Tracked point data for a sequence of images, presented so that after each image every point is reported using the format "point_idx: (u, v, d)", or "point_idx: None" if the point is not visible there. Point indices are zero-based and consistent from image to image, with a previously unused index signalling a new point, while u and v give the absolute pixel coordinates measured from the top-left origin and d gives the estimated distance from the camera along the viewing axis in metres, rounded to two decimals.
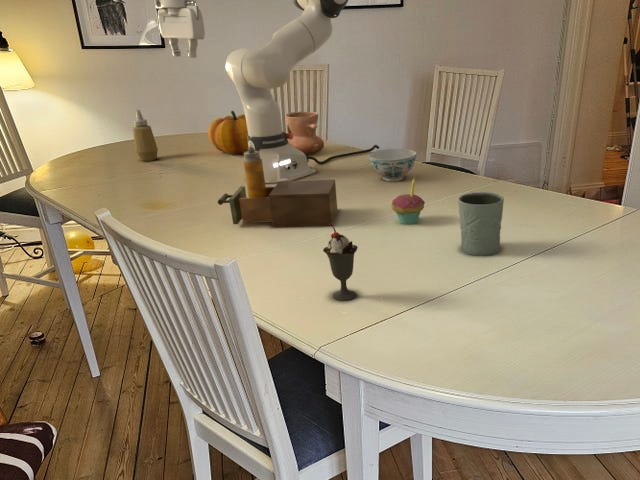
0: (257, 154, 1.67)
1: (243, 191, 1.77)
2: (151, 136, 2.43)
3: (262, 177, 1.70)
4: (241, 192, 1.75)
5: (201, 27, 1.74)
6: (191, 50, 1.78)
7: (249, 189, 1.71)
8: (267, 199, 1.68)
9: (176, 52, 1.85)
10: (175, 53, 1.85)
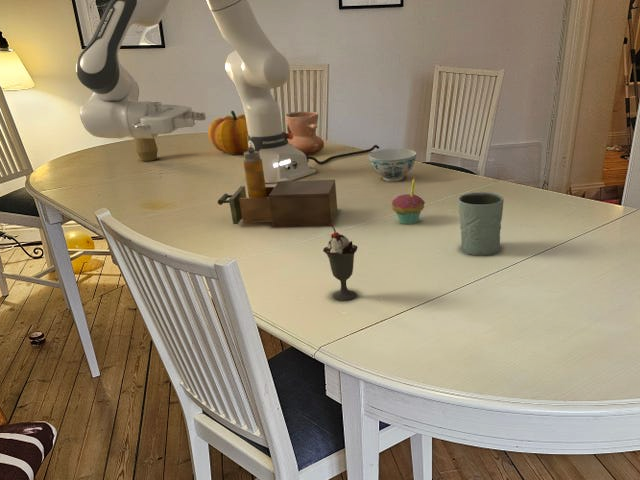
0: (257, 154, 1.67)
1: (243, 191, 1.77)
2: None
3: (262, 177, 1.70)
4: (241, 192, 1.75)
5: (155, 122, 1.56)
6: (185, 125, 1.60)
7: (249, 189, 1.71)
8: (267, 199, 1.68)
9: (200, 118, 1.68)
10: (201, 119, 1.69)
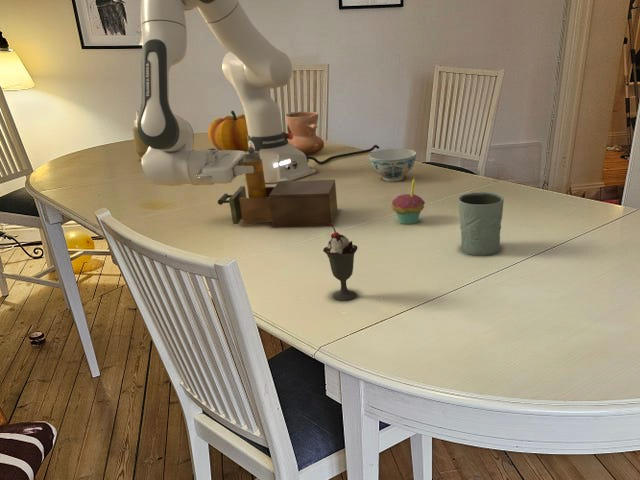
0: (257, 154, 1.67)
1: (243, 191, 1.77)
2: None
3: (262, 177, 1.70)
4: (241, 192, 1.75)
5: (217, 172, 1.61)
6: (246, 172, 1.67)
7: (249, 189, 1.71)
8: (267, 199, 1.68)
9: None
10: None
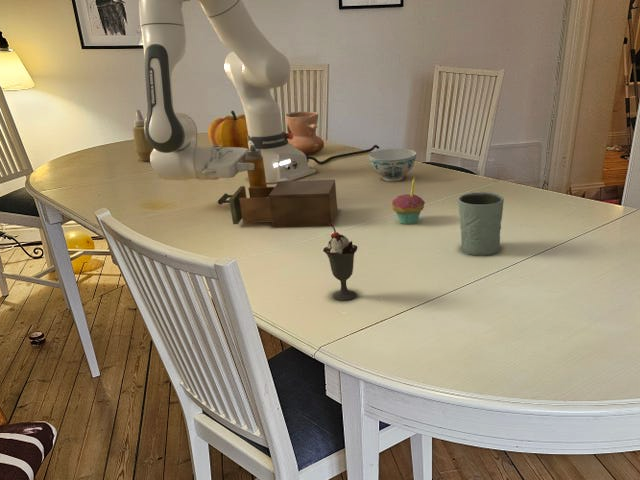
0: (258, 152, 1.79)
1: (243, 191, 1.77)
2: None
3: (263, 173, 1.82)
4: (241, 192, 1.75)
5: (221, 168, 1.72)
6: (247, 168, 1.77)
7: (251, 185, 1.82)
8: (267, 199, 1.68)
9: None
10: None
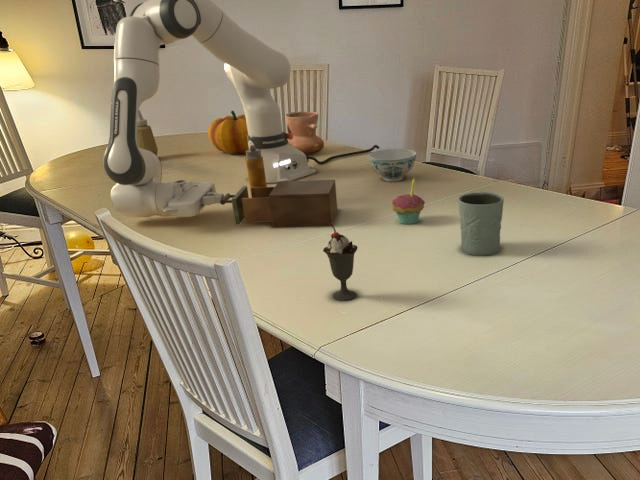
0: (258, 152, 1.79)
1: (245, 191, 1.77)
2: (151, 136, 2.43)
3: (263, 173, 1.82)
4: (243, 192, 1.75)
5: (182, 206, 1.66)
6: (214, 202, 1.74)
7: (251, 185, 1.82)
8: None
9: None
10: None
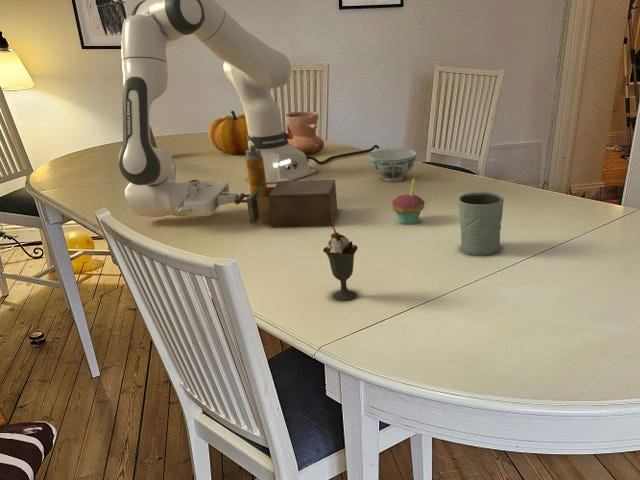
0: (258, 152, 1.79)
1: (260, 191, 1.77)
2: (151, 136, 2.43)
3: (263, 173, 1.82)
4: (258, 191, 1.75)
5: (197, 206, 1.66)
6: (229, 201, 1.73)
7: (251, 185, 1.82)
8: None
9: None
10: None
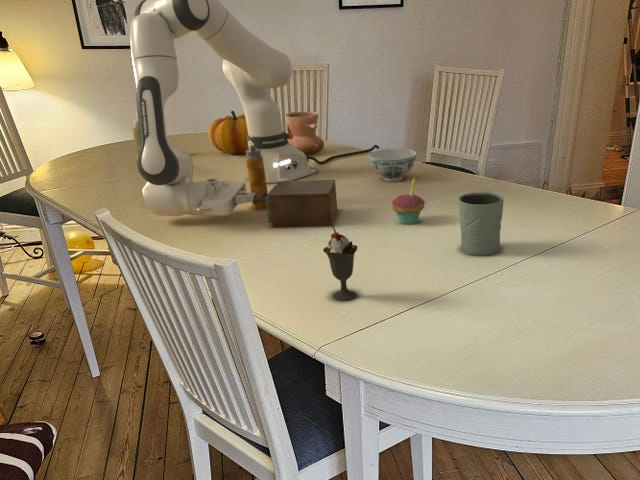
0: (258, 152, 1.79)
1: None
2: None
3: (263, 173, 1.82)
4: None
5: (216, 205, 1.65)
6: (247, 201, 1.73)
7: (251, 185, 1.82)
8: None
9: None
10: None
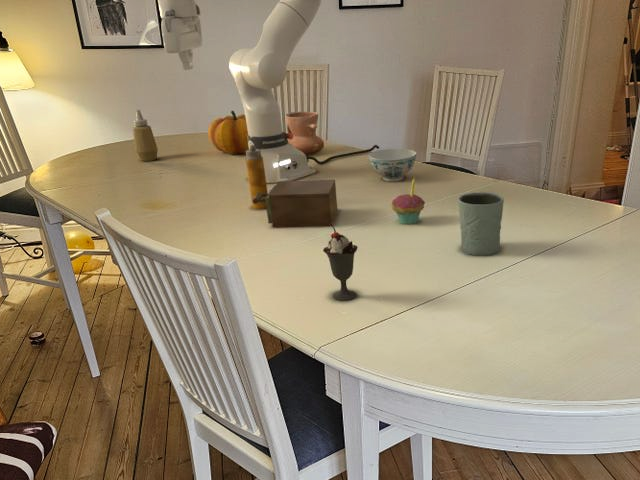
0: (258, 152, 1.79)
1: None
2: (151, 136, 2.43)
3: (263, 173, 1.82)
4: None
5: (173, 39, 1.58)
6: (183, 62, 1.68)
7: (251, 185, 1.82)
8: None
9: None
10: None
